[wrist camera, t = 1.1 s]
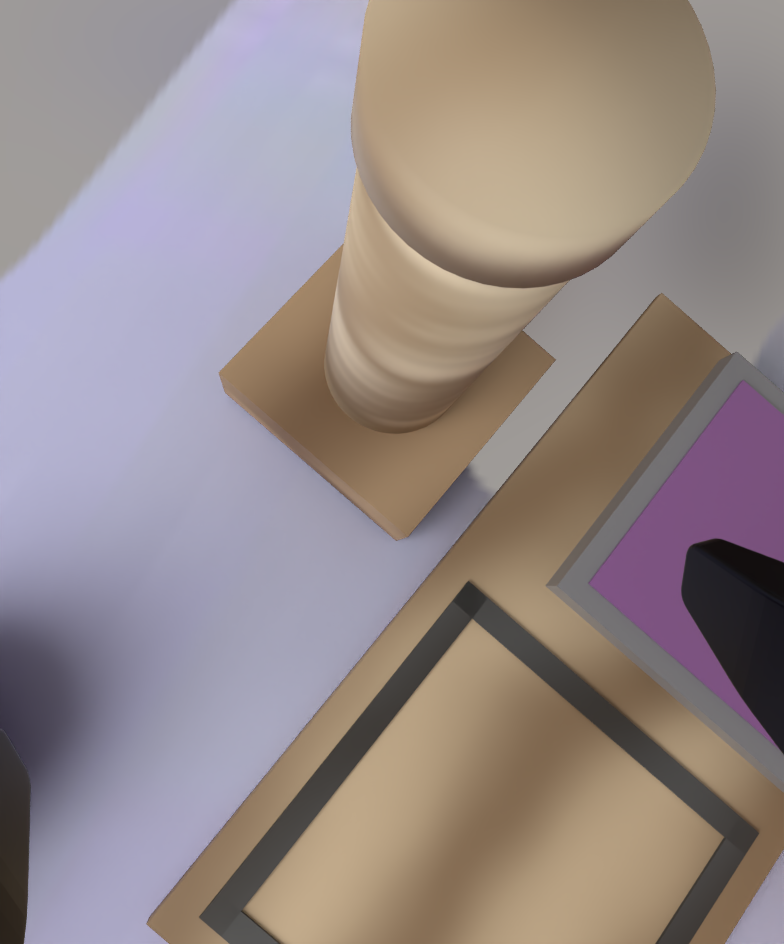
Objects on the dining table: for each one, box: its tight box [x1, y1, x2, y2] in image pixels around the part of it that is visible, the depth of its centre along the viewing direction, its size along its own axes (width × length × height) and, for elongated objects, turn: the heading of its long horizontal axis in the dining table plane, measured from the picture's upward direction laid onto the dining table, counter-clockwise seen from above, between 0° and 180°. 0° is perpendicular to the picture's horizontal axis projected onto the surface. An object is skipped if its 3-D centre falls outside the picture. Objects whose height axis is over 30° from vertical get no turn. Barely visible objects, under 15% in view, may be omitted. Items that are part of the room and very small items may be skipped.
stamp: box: [219, 0, 716, 541], centre depth 16 cm, size 7×7×15 cm
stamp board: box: [147, 293, 784, 944], centre depth 22 cm, size 14×25×1 cm, turn 140°
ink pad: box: [546, 352, 784, 792], centre depth 23 cm, size 10×10×1 cm
